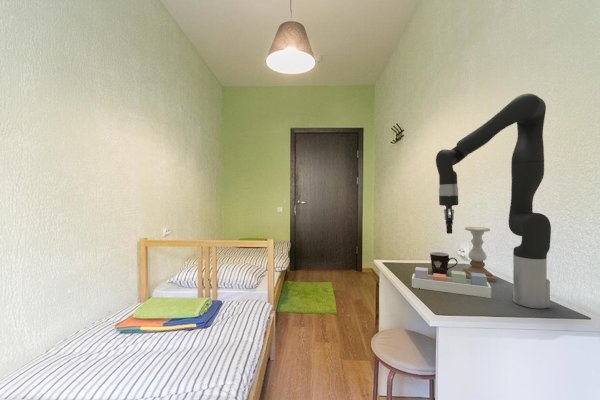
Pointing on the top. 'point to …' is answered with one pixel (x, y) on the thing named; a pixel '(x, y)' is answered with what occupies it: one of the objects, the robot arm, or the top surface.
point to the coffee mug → (440, 262)
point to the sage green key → (458, 277)
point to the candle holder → (477, 254)
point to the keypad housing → (452, 286)
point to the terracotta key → (439, 277)
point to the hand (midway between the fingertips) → (449, 233)
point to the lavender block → (421, 273)
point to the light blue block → (478, 279)
